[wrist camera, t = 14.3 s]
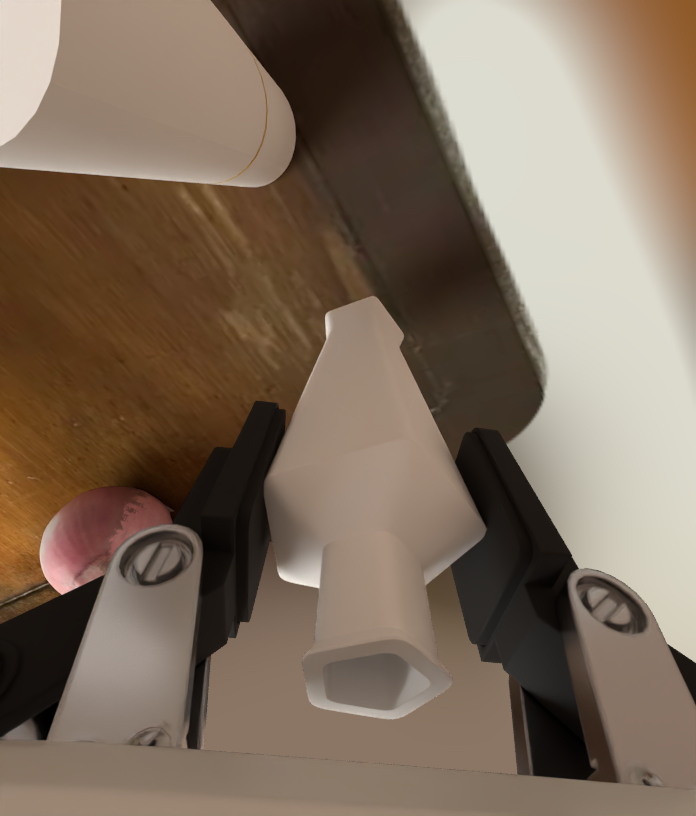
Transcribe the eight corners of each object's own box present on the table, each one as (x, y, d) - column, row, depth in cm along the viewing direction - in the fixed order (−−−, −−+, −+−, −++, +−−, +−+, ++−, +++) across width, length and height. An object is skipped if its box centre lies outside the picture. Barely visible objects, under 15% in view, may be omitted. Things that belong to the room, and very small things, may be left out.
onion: (209, 538, 29) (167, 631, 23) (123, 555, 31) (61, 648, 24) (154, 456, 26) (86, 540, 19) (60, 480, 27) (-32, 565, 21)
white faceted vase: (334, 393, 20) (293, 769, 7) (301, 314, 18) (154, 633, 5) (420, 365, 19) (558, 736, 6) (395, 280, 17) (519, 555, 4)
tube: (315, 123, 17) (129, -150, 4) (260, 208, 18) (-4, 239, 5) (231, 39, 15) (-536, -863, 2) (180, 138, 17) (-429, -54, 4)
